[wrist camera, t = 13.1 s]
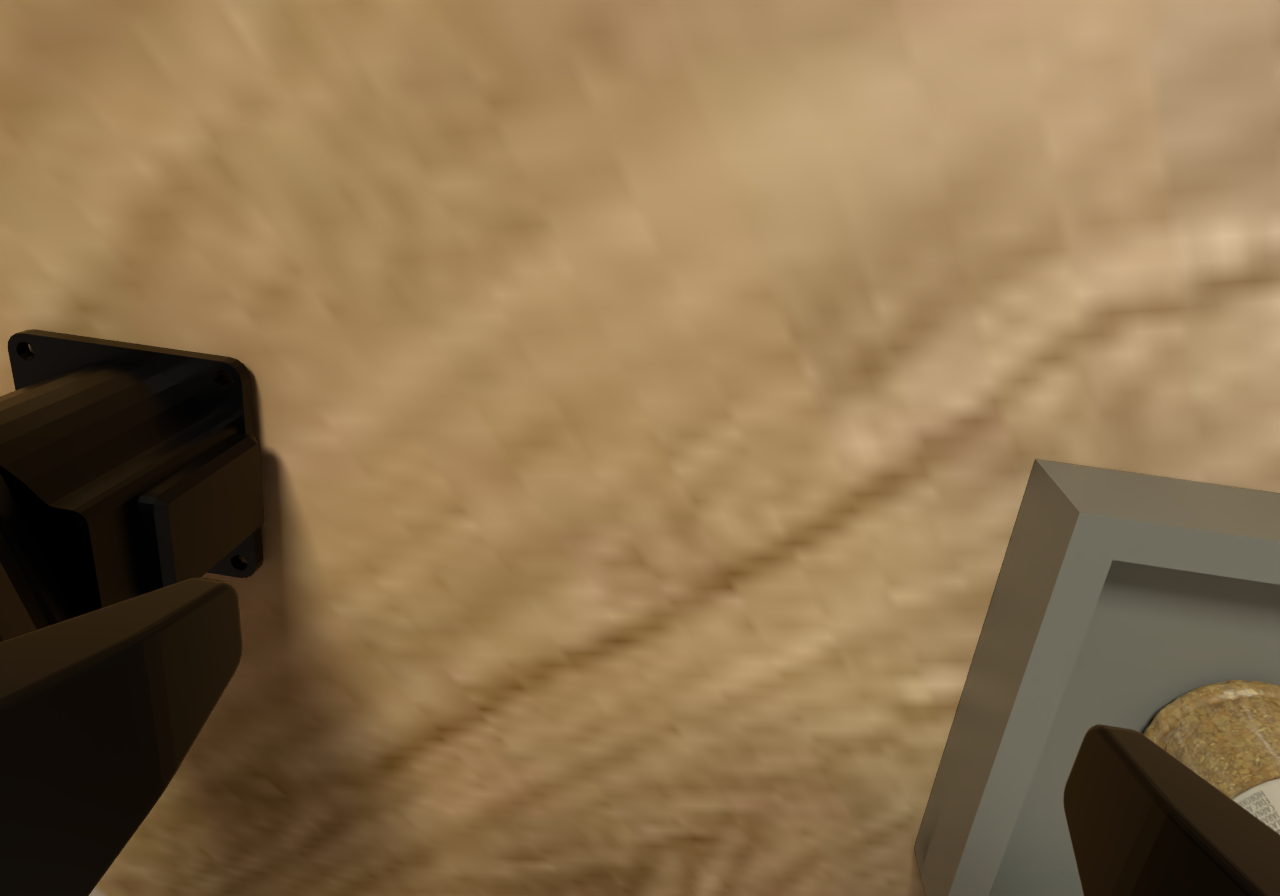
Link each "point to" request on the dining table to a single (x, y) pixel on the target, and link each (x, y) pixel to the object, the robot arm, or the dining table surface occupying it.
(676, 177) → the dining table surface
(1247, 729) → the sprinkles bottle
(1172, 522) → the tray
